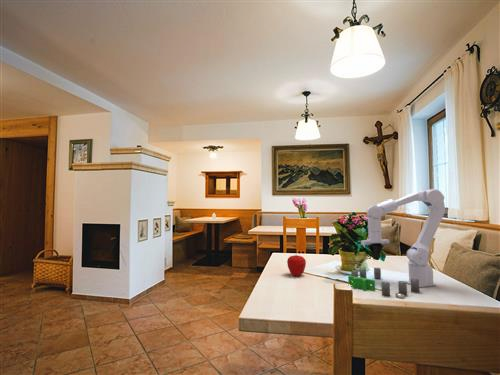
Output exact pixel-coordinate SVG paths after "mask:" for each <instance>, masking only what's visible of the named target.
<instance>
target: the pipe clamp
mask: <svg viewBox="0 0 500 375" xmlns="http://www.w3.org/2000/svg"><path fill="white" fill-rule="evenodd" d="M347 278H348V280H347V281H348V284H347V285H349V284H350V285H352V286H353V287H352V286H351V287H352V289H353V290H356V289H360V290H363V292H366V291H373V292H375V291H376V279H369V278H367V277H366V278H367V279H366V278H360V276H358V277H354V276H351V275H348V276H347ZM352 281H353V282H352Z"/></svg>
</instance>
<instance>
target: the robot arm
mask: <svg viewBox="0 0 500 375" xmlns="http://www.w3.org/2000/svg"><path fill="white" fill-rule="evenodd" d="M413 202H422V203H424V204H425V205H426V206H427V208H428V210H429V214H428V216H427V217H426V220H425V222H424V224H423V227H422V229H421V231H420V233H419V235H418V236H417V240H416V242H414V243H413V244H412V245H411V247H410V248H409V249H408V250H407V251H406V258H407V259H408V260H409V261H408V262H407V263H408V267H407V268H408V280H405V282H407V284H408V285H411V279H418V280H419V288H423V287H433V286H436V284H435V283H434V282H435V281H434V270H433V268H432V266H431V265H430V264H428V262H429V254H430V246H431V243H432V242H433V239H434V236H435V235H436V232H437V230H438V228H439V226H440V224H441V222H442V220H443V218H444V215H445V213H446V206H445V196H444V194H443V193H442V192H441V190H439V189H436V188H430V189H424V190H419V191H416V192H412V193H410V194H407V195H405V196H402V197H401V198H398V199H395V200H394V199H391V198H390V199H388V198H386V199H385V200H384V201H382V202H379V203H378V202H376V203H375V204H374V205H370V206H369V207H367V210H366V211H365V212H366V215H367V232H368V235H367V236H368V239H364V240H360V245H362V246H367V248H368V249H369V251H370V253H371V256H372V259H373V260H374V261H379V260H380V259H379V258H380V255H381V252H382V250H383V248H384V244H390V239H387V238H383V237H382V220H381V217H382V216H384V215H387V214H390V213H393V212H396V211H397V210H398V208H399V207H401V206H403V205H406V204H410V203H413Z"/></svg>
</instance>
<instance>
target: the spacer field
mask: <svg viewBox="0 0 500 375" xmlns="http://www.w3.org/2000/svg"><path fill="white" fill-rule="evenodd" d="M381 270H382V269H381V267H374V268H373V277H374V279H373V280H382V271H381ZM350 274H351V275H350V276H354V277H360V278H366V279H368V278H367V269H366V268H360V269H359V270H356V269H352V270H351V272H350ZM405 281H406V280H405ZM405 281H404V280H398V281H397V284H398V286H397V288H398V293H403V294H404V296H405V297H406V296H408V288H407V287H408V286H407V284H408V283H407V282H405ZM380 283H381V284H380V285H381V295H382V296H383V297H390V296H391V284H390V282H389V281H381V282H380ZM410 291H411V292H412V293H415V294H419V293H420V291H421V290H420V287H419V280H418V279H411V284H410Z"/></svg>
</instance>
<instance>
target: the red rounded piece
mask: <svg viewBox="0 0 500 375" xmlns="http://www.w3.org/2000/svg"><path fill="white" fill-rule="evenodd" d="M286 263H287V264H286V265H287V267H288V270H289V272H290V274H291V275H292V276H294V277H300V276H301V275H303V274H304V273H305V269H306V264H307V261H306V259H305V258H304V257H303V256H302V255H297V254H295V255H290V256H289V257H288V258H287V260H286Z"/></svg>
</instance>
